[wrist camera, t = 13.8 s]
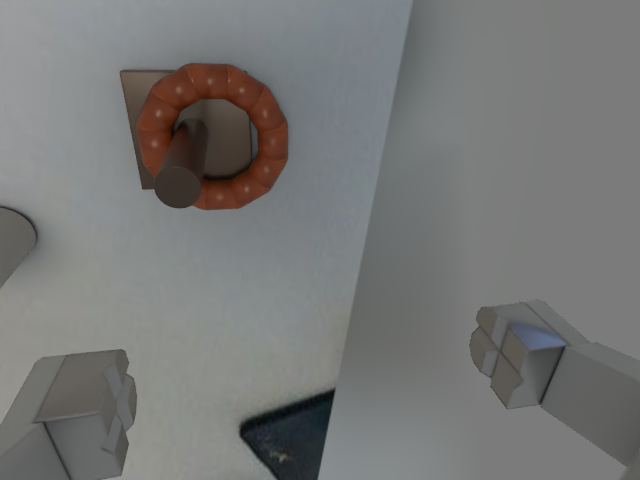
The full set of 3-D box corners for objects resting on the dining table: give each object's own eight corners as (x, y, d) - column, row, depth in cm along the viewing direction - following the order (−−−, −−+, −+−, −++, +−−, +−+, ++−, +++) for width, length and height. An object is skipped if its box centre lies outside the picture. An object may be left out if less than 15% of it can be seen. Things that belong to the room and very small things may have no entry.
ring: (286, 64, 31) (290, 67, 29) (285, 199, 36) (289, 210, 34) (128, 60, 28) (121, 63, 26) (153, 205, 34) (148, 217, 32)
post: (246, 70, 31) (259, 99, 20) (252, 179, 36) (265, 253, 24) (122, 69, 30) (60, 100, 18) (144, 184, 34) (105, 267, 23)
